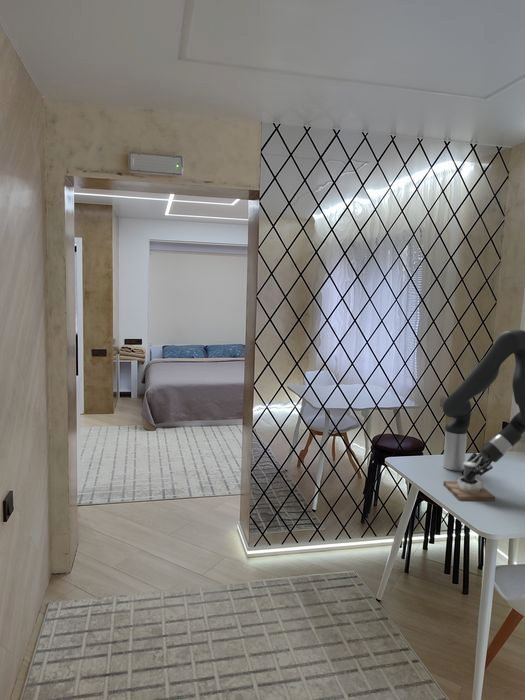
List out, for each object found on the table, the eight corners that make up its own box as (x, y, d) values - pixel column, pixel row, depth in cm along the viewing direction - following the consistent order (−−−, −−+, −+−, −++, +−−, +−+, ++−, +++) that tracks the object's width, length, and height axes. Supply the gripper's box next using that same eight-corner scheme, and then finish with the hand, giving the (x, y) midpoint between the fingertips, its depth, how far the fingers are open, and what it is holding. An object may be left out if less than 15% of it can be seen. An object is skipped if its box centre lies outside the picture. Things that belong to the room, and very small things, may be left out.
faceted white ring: (453, 484, 205) (454, 476, 205) (474, 485, 206) (474, 476, 205) (462, 492, 197) (462, 484, 197) (483, 493, 197) (484, 484, 197)
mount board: (443, 484, 209) (443, 481, 209) (476, 485, 209) (476, 481, 209) (458, 500, 193) (459, 496, 193) (494, 500, 194) (495, 497, 193)
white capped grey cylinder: (460, 484, 204) (461, 461, 203) (472, 484, 204) (473, 461, 203) (465, 488, 199) (466, 465, 198) (477, 489, 199) (479, 465, 198)
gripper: (482, 436, 206) (451, 464, 207) (499, 446, 192) (465, 476, 193) (494, 449, 207) (463, 476, 208) (511, 460, 193) (478, 490, 194)
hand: (464, 476), depth 201 cm, fingers closed on white capped grey cylinder, 4 cm apart
